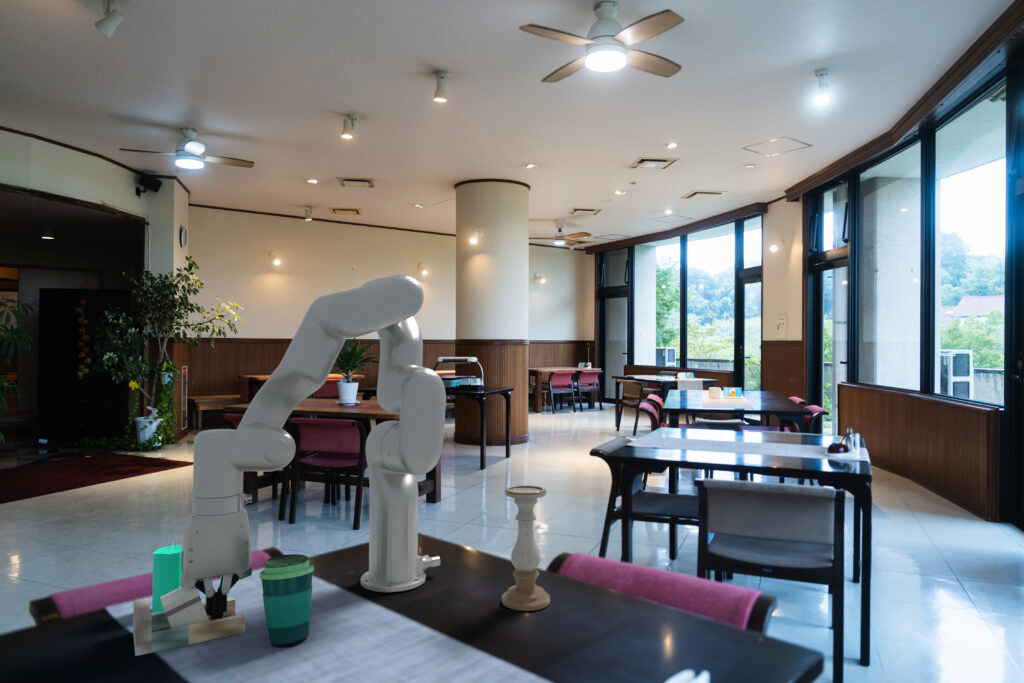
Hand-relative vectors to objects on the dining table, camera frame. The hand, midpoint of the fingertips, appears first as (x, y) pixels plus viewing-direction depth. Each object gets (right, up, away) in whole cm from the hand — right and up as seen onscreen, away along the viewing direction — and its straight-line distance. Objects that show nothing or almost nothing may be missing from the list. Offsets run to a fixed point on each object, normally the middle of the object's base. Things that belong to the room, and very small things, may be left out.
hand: (216, 617), depth 102 cm
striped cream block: (-3, -1, -2) cm, 4 cm away
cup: (+13, -2, -4) cm, 14 cm away
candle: (-11, -2, +7) cm, 13 cm away
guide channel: (-3, -1, -2) cm, 4 cm away
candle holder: (+51, -2, +10) cm, 52 cm away
